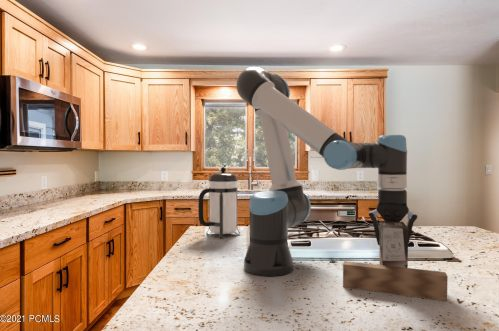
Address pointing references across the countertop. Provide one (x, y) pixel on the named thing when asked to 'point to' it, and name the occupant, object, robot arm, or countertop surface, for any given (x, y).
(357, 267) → the board
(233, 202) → the coffee press
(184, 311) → the countertop surface
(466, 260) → the countertop surface
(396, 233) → the coffee box
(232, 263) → the countertop surface
